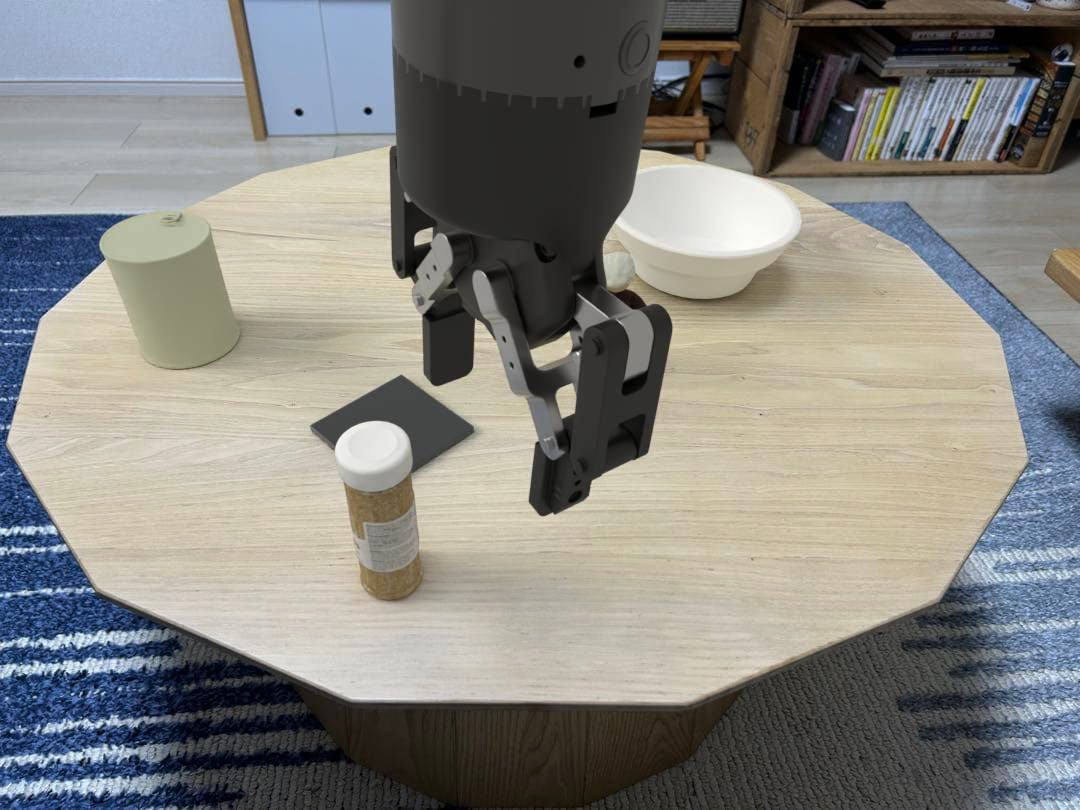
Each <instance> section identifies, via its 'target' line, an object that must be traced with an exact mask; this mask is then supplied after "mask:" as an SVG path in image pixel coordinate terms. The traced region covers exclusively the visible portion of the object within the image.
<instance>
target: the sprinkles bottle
mask: <svg viewBox="0 0 1080 810" xmlns="http://www.w3.org/2000/svg"><path fill="white" fill-rule="evenodd" d="M334 456H335V457H334V458H335V462H336V468H337V472H338V476H339V477H340V479H341V481H342V482H343V487H344V492H345V498H346V505H347V511H348V519H349V524H350V528H351V534H352V539H353V544H354V549H355V554H356V557H357V560H358V565H359V570H360V571H359V579H360V583H361V585H362V587H363V589H364V590H365V591H366V592H367V593H368V594H369V595H370V596H373V597H375V598H377V599H381V600H385V601H386V600H387V601H390V600H391V601H392V600H395V599H401V598H403V597H406V596H408V595H409V594H411V593H413V592H414V590H416V589H417V588H418V586H419V585H420V583H421V581H422V578H423V575H424V565H423V561H422V560H421V555H420V544H421V543H420V535H419V533H420V532H419V524H418V514H417V506H416V495H415V490H414V488H413V487H414V486H413V479H412V473H411V469H412V463H413V459H412V450H411V444H410V440H409V437H408V435H407V434H406V433H405V431H404V430H403V429H401V428H400V427H398V426H397V425H395V424H392V423H389V422H384V421H369V422H364V423H361V424H358V425H355V426H353V427H352V428H350V429H348V430H347V431H346V432H345V433H343V435H342V436H341V437H340V438H339V440H338V441H337V444H336V447H335V451H334Z"/></svg>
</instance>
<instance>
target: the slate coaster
mask: <svg viewBox="0 0 1080 810" xmlns="http://www.w3.org/2000/svg"><path fill="white" fill-rule="evenodd" d="M369 421H384V422H389V423H392V424H395V425H397V426H398V427H400V428H401V429H403V430H404V431H405V433H406V434H407V435H408V437H409V440H410V444H411V450H412V459H413V463H412V469H411V474H412V473H413V472H415V471H416V470H418V469H419V468H421V467H423V466H425V465H426V464H427V463H428V462H430V461H432V460H433V459H435V458H437V456H440V455H441V454H442V453H444V452H446V451H447V450H449V449H450V448H451V447H453V446H455V445H456V444H457V443H459V442H461V441H463V440H464V439H465V438H468V436H470V435H472V434H474V432H475V427H474V425H472V424H471V423H469V422H468V421H467V420H465V419H464V418H463V417H461V416H460V415H458V414H457V413H456V412H454V411H453V410H451V409H450V408H449V407H447V406H446V405H444V404H443V403H442V402H441V401H439V400H437V399H436V398H434V396H432V395H430V394H429V393H428V392H427V391H425V390H424V389H422V388H421V387H420V386H418V385H417V384H415V383H414V382H413V381H411V380H410V379H409V378H407V377H406V376H405V375H403V374H400V375H399V374H398V376H396V377H394V378H392V379H391V380H389V381H387V382H385V383H383V384H381V385H380V386H378V387H376V388H375V389H372V390H371V391H369V392H367V393H366V394H365V393H364V394H363V395H362V396H360V397H358V398H357V399H355V400H352V401H350V402H349V403H347V404H346V405H344V406H342V407H340V408H338V409H336V410H334V411H333V412H331V413H330V414H328V415H325V416H324V417H322V418H320V419H318V420H317V421H315V422H313V423H311V424H310V425H309V428H310V431H311V432H312V433H313V434H314V435H316V436H317V437H318V438H319V439H320V440H321V441H323V442H324V443H325V444H326V445H327V446H328V447H329V448H331V449H332V450H333V451H334V452H335V447H336V444H337V441H338V440H339V438H340V437H341V436H342V435H343V433H345V432H346V431H347V430H348V429H350V428H352V427H353V426H355V425H358V424H361V423H364V422H369Z"/></svg>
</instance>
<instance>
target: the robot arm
mask: <svg viewBox="0 0 1080 810" xmlns="http://www.w3.org/2000/svg"><path fill="white" fill-rule="evenodd" d="M389 2H390V24H391V53H392V77H393V79H392V80H393V97H394V98H393V99H394V100H393V101H394V119H395V121H394V123H395V143H396V144H394V145H391V146H390V148H389V152H388V153H389V154H388V157H389V158H388V159H389V195H390V196H389V198H390V238H391V240H390V241H391V242H390V244H391V248H390V249H391V265H392V268H393V271H394V272H395V274H396V276H397V277H398V279H400V280H404V279H405V280H406V279H408V278H410V279H411V281H412V283H413V284H414V285H413V286H412V288H411V297H412V302H413V305H414V306H415V309H416V310H417V312H418V313H419V314H421V326H422V369H423V376H425V378H426V379H427V380H428V381H429V383H430V384H431V385H432V386H433V387H440V386H443V385H446V384H449V383H452V382H455V381H457V380H461V379H463V378H466V377H467V376H468V375H470V374H471V372H472V371H473V369H474V364H475V363H474V362H475V361H474V359H475V333H476V320H477V321H478V322H480V323H481V324H483V325H484V327H485V328H486V330H487V331H488V333H489V335H491V337H492V339H493V340H494V341H495V342H496V345H497V347H498V353H499V355H500V359H501V363H502V365H503V368H504V372H505V375H506V379H507V382H508V385H509V388H510V391H511V392H512V393H513V394H514V395H516V396H517V397H521V398H524V399H525V400H526V402H527V405H528V408H529V411H530V415H531V418H532V421H533V425H534V429H535V433H536V436H537V438H538V441H535V443H534V450H533V451H534V452H533V457H532V458H533V459H532V467H531V468H532V469H531V474H530V475H531V477H530V482H529V483H530V485H529V491H528V492H529V493H528V503H529V505H530V506H531V508H532V509H534V511H535V512H536V513H537V515H538V516H539V517H546V516H549V515H551V514H553V515H554V516H556V515H558V514H560V513H562V512H564V511H565V510H568V509H570V508H572V507H574V506H576V505H578V504H580V503H582V502H583V501H585V500H586V499H587V498H588V497H589V496H590V493H591V487H592V486H591V485H592V482H593V481H594V480H596V479H599V478H600V477H601V478H602V476H603V475H604V474H607V473H608V472H610V471H613V470H614V469H617V468H618V467H620V466H623V465H625V464H627V463H630V462H631V461H637V460H638V459H640V458H642V457H644V456H646V455H648V454H649V452H650V447H651V443H652V438H653V437H652V436H653V432H654V428H655V427H654V426H655V422H656V417H657V411H658V407H659V401H660V396H661V393H662V392H661V391H662V386H663V383H664V377H665V371H666V365H667V362H668V356H669V351H670V347H671V341H672V338H673V337H672V336H673V330H674V329H673V327H674V326H673V322H672V318H671V316H670V313H669V311H668V310H667V309H666V308H665V307H664V306H662V305H661V304H659V303H651V304H648V305H647V306H645V307H643V308H640V309H637V310H634V309H631V308H630V307H629V306H627V305H626V304H625V303H623V302H622V301H621V300H619V299H618V298H617V297H615V296H614V295H613V294H611V293H610V292H609V291H607V280H606V274H605V269H604V262H603V258H604V243H605V240H606V238H607V236H608V234H609V232H610V231H611V230H612V228H613V224H614V223H615V221H616V220H617V219H618V217H619V216H620V214H621V213H622V212H623V210H624V209H625V207H626V206H627V204H628V203H629V201H630V199H631V196H632V194H633V189H634V184H635V179H636V173H637V170H638V168H639V164H640V163H639V162H640V156H641V152H642V146H643V141H644V136H645V130H646V124H647V118H648V113H649V107H650V102H651V97H652V92H653V87H654V81H655V76H656V70H657V63H658V57H659V53H660V46H661V42H662V36H663V31H664V27H665V22H666V21H665V20H666V16H667V10H668V4H669V0H389ZM428 229H432V240H430V241H427V242H425V243H421V244H417V245H415V240H416V239H415V238H416V236H417V234H418V233H419V232H422V231H424V230H428ZM568 333H569V335H570V338H571V339H570V340H571V344H572V345H571V349H570V351H569V353H568V355H566V356H564V357H562V358H559V359H556V360H554V361H551V362H548V363H546V364H543V365H540V366H537V365H536V364H535V361H534V359H533V356H532V353H531V351H533V350H534V349H537V348H540V347H543V346H546V345H549V344H551V343H553V342H557V341H558V340H559V339H561V338H563V337H564V336H565V335H566V334H568ZM571 384H572V386H573V390H574V393H575V406H574V413H571V414H569V415H567V416H565V417H562V414H561V411H560V407H559V405H558V401H557V393H558V391H559V390H560V389H561V388H563V387H566V386H569V385H571Z"/></svg>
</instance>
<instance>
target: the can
mask: <svg viewBox="0 0 1080 810" xmlns="http://www.w3.org/2000/svg"><path fill="white" fill-rule="evenodd" d="M214 241H215V240H214V238H213V234H212V226H211V224H210V222H209V221H208V220H207V219H206V218H204V217H202V216H200V215H198V214H196V213H193V212H188V211H182V210H159V211H150V212H146V213H141V214H137V215H134V216H131V217H128V218H126V219H123V220H122V221H119V222H118V223H116V224H114V225H112V226H111V227H110V228H108V229H107V230H106V231H105V232H104V233H103V234H102V236H101V238H100V240H99V245H98V246H99V249H100V252H101V253H102V255H103V257H104V259H105V261H106V265H107V267H108V268H109V271H110V273H111V276H112V280H113V281H114V283H115V287H116V289H117V291H118V293H119V296H120V298H121V301H122V303H123V305H124V308H125V311H126V314H127V316H128V319H129V321H130V324H131V327H132V329H133V332H134V335H135V338H136V340H137V343H138V349H139V353H140V355H141V357H142V358H143V359H144V360H145V361H146V362H147V363H149V364H151V365H153V366H156V367H158V368H163V369H171V370H183V369H184V370H185V369H191V368H196V367H201V366H205V365H207V364H210V363H212V362H215V361H217V360H218V359H221V358H222V357H224V356H225V355H227V354H228V353H229V352H231V350H232V349H233V348H235V346H236V344H237V343H238V342H239V340H240V337H241V328H240V325H239V324H238V322H237V319H236V316H235V314H234V310H233V307H232V304H231V303H232V302H231V300H230V297H229V293H228V289H227V286H226V283H225V278H224V275H223V271H222V268H221V265H220V261H219V257H218V253H217V250H216V246H215V242H214Z"/></svg>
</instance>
